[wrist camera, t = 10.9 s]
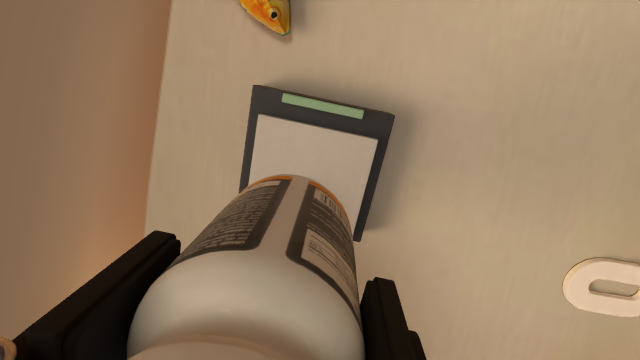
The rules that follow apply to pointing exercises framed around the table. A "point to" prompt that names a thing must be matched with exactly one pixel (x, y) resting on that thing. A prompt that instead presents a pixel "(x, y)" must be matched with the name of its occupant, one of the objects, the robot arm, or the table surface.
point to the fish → (270, 13)
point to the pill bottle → (259, 283)
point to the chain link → (598, 301)
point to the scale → (317, 146)
